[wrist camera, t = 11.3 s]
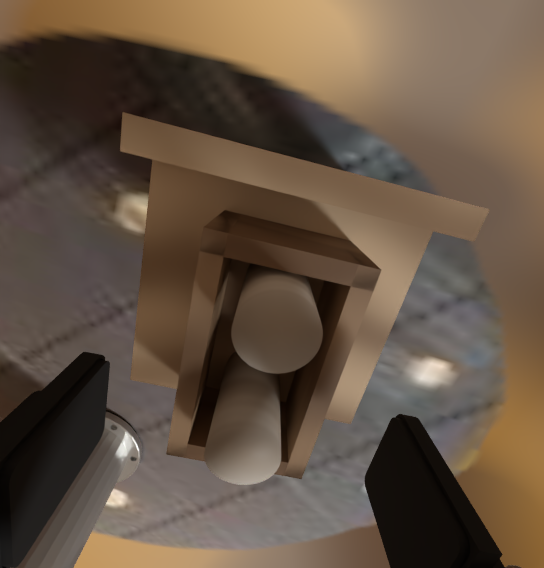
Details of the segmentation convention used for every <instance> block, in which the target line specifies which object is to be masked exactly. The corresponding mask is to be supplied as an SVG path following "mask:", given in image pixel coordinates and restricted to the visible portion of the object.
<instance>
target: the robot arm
mask: <svg viewBox="0 0 544 568" xmlns="http://www.w3.org/2000/svg"><path fill="white" fill-rule="evenodd" d="M109 368H110V363H109V362H108V361H105V357H104V356H103V355H99V354H94V353H89V352H83V353H82V354H80V355H79V356H78V357H77V358H76V359H75V360H74V361H73V362H72V363H71V364H70V365H69V366H68V367H66V368H65V369H64V370H63V371H62V372H61V373H60V374H59V375H58V376H57V377H56V378H55V379H54V380H53V381H52V382H51V383H50V384H48V385H47V386H46V387H45V388H44V389H43V390H42V391H36V392H34V393H33V394H31V395H30V396H29V397H28V398H26V399H25V400H24V401H23V402H22V403H21V404H20V405H19V406H18V407H17V408H16V409H14V410H13V411H12V412H11V413H10V414H9V415H8V416H7V417H6V418H5V419H4V420H2V421H1V422H0V568H73V567H74V565H75V563H76V561H77V559H78V557H79V556H80V553H81V552H82V550H83V547H84V545H85V544H86V542H87V540H88V538H89V536H90V534H91V532H92V530H93V528H94V526H95V524H96V522H97V520H98V518H99V516H100V514H101V512H102V510H103V508H104V506H105V504H106V502H107V500H108V498H109V496H110V494H111V492H112V490H113V488H114V486H115V484H116V483H119V482H121V481H123V480H125V479H127V478H128V477H130V476H131V475H132V474H133V473H134V472H135V470H136V469H137V467H138V465H139V463H140V460H141V457H142V445H141V441H140V439H139V437H138V435H137V434H136V432H135V431H134V430H133V428H132V427H131V426H130V425H128V424H127V423H126V422H125V421H124V420H122V419H121V418H119V417H117V416H115V415H113V414H111V413H109V412H106V404H107V392H108V380H109ZM365 487H366V490H367V493H368V497H369V500H370V503H371V506H372V510H373V513H374V516H375V519H376V522H377V526H378V529H379V532H380V535H381V538H382V542H383V545H384V548H385V551H386V555H387V558H388V561H389V564H390V567H391V568H521V567H518V566H513V565H508V566H507V567H504V565H503V564H502V562H501V560H500V557H501V556H502V553H501V552H500V550H499V548H498V547H497V545H496V543H495V542H494V540H493V539H492V537H491V536H490V534H489V532H488V530H487V529H486V528H485V526H484V524H483V522H482V521H481V519H480V517H479V516H478V514H477V513H476V511H475V509H474V508H473V506H472V505H471V503H470V501H469V500H468V498H467V496H466V495H465V493H464V492H463V490H462V488H461V487H460V485H459V484H458V482H457V480H456V479H455V477H454V475H453V474H452V472H451V471H450V469H449V467H448V466H447V464H446V462H445V461H444V459H443V458H442V456H441V454H440V453H439V451H438V449H437V448H436V446H435V445H434V443H433V441H432V440H431V438H430V437H429V435H428V433H427V432H426V430H425V428H424V427H423V425H422V424H421V422H420V420H419V419H418V418H416V417H413V416H407V415H402V414H398V415H397V416H396V418H392V419H391V421H390V423H389V425H388V427H387V429H386V431H385V434H384V436H383V438H382V440H381V442H380V444H379V447H378V449H377V451H376V453H375V455H374V457H373V459H372V462H371V464H370V466H369V468H368V470H367V472H366V475H365Z"/></svg>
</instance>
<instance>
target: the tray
mask: <svg viewBox="0 0 544 568" xmlns="http://www.w3.org/2000/svg"><path fill="white" fill-rule="evenodd" d="M380 273H381V269H380V268H379V267H378V266H377V265H376V264H375V263H374V262H373V261H372V260H371V259H369V258H368V257H367V256H366V255H365V254H364V253H363V252H362V251H361V250H360V249H359V248H358V247H357V246H356V245H355V244H354V243H352V242H351V241H350V240H346V239H342V238H338V237H334V236H329V235H325V234H321V233H317V232H313V231H309V230H305V229H301V228H297V227H293V226H289V225H284V224H280V223H276V222H272V221H268V220H264V219H260V218H256V217H252V216H248V215H244V214H239V213H235V212H231V211H227V210H224V211H223V212H222V213H220V214H219V215H218V216H217V217H215V218H214V219H213V220H212V221H210V222H209V223H208V224H207V225H206V226H204V227H203V232H202V238H201V244H200V251H199V257H198V263H197V269H196V275H195V281H194V287H193V293H192V300H191V306H190V312H189V318H188V324H187V330H186V336H185V343H184V349H183V355H182V361H181V367H180V373H179V379H178V386H177V392H176V398H175V404H174V410H173V416H172V422H171V429H170V435H169V441H168V447H167V453H166V454H167V455H173V456H178V457H184V458H189V459H195V460H200V461H205V462H206V465H207V467H208V468H209V469H210V471H211V472H212V473H213V474H214V475H216V476H217V477H218V478H220V479H222V480H224V481H226V482H229V483H233V484H239V485H249V484H255V483H259V482H262V481H264V480H266V479H268V478H269V477H271V476H272V475H273V474H277V475H282V476H288V477H293V478H299V479H302V476H303V473H304V471H305V468H306V466H307V463H308V460H309V458H310V455H311V453H312V450H313V447H314V445H315V442H316V440H317V437H318V434H319V432H320V429H321V427H322V424H323V421H324V419H325V416H326V414H327V411H328V408H329V406H330V403H331V401H332V398H333V395H334V393H335V390H336V388H337V385H338V382H339V380H340V377H341V374H342V372H343V369H344V367H345V364H346V361H347V359H348V356H349V354H350V351H351V348H352V346H353V343H354V341H355V338H356V335H357V333H358V330H359V328H360V325H361V322H362V320H363V317H364V315H365V312H366V309H367V307H368V304H369V302H370V299H371V296H372V294H373V291H374V289H375V286H376V283H377V281H378V278H379V275H380Z"/></svg>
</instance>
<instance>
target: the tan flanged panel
mask: <svg viewBox="0 0 544 568" xmlns="http://www.w3.org/2000/svg"><path fill="white" fill-rule="evenodd" d="M120 151H121V152H125V153H129V154H133V155H137V156H141V157H145V158H149V159H152V169H151V179H150V189H149V199H148V209H147V219H146V229H145V239H144V249H143V259H142V269H141V278H140V288H139V298H138V308H137V318H136V328H135V338H134V348H133V358H132V368H131V378H130V380H135V381H140V382H145V383H150V384H155V385H160V386H164V387H169V388H174V389H177V386H178V379H179V373H180V367H181V361H182V355H183V349H184V343H185V336H186V330H187V324H188V318H189V312H190V306H191V300H192V293H193V287H194V281H195V275H196V269H197V263H198V257H199V251H200V244H201V238H202V232H203V227H204V226H206V225H207V224H208V223H209V222H210V221H212V220H213V219H214V218H215V217H217V216H218V215H219V214H220V213H222V212H223V211H224V210H227V211H231V212H235V213H239V214H244V215H248V216H252V217H256V218H260V219H264V220H268V221H272V222H276V223H280V224H284V225H289V226H293V227H297V228H301V229H305V230H309V231H313V232H317V233H321V234H325V235H329V236H334V237H338V238H342V239H346V240H350V241H351V242H352V243H354V244H355V245H356V246H357V247H358V248H359V249H360V250H361V251H362V252H363V253H364V254H365V255H366V256H367V257H368V258H369V259H371V260H372V261H373V262H374V263H375V264H376V265H377V266H378V267H379V268H380V269H381V273H380V275H379V278H378V281H377V283H376V286H375V289H374V291H373V294H372V296H371V299H370V302H369V304H368V307H367V309H366V312H365V315H364V317H363V320H362V322H361V325H360V328H359V330H358V333H357V335H356V338H355V341H354V343H353V346H352V348H351V351H350V354H349V356H348V359H347V361H346V364H345V367H344V369H343V372H342V374H341V377H340V380H339V382H338V385H337V388H336V390H335V393H334V395H333V398H332V401H331V403H330V406H329V408H328V411H327V414H326V416H325V419H328V420H333V421H338V422H343V423H348V424H351V422H352V419H353V417H354V415H355V412H356V410H357V408H358V405H359V403H360V401H361V398H362V396H363V394H364V391H365V389H366V387H367V384H368V382H369V380H370V377H371V375H372V373H373V370H374V368H375V366H376V363H377V361H378V359H379V356H380V354H381V352H382V349H383V347H384V345H385V342H386V340H387V338H388V335H389V333H390V331H391V328H392V326H393V324H394V321H395V319H396V317H397V314H398V312H399V310H400V307H401V305H402V303H403V300H404V298H405V296H406V294H407V291H408V289H409V287H410V284H411V282H412V280H413V277H414V275H415V273H416V270H417V268H418V266H419V263H420V261H421V259H422V256H423V254H424V252H425V249H426V247H427V245H428V242H429V240H430V238H431V235H432V233H433V231H434V232H438V233H442V234H446V235H450V236H454V237H458V238H462V239H466V240H470V241H475V239H476V237H477V235H478V233H479V231H480V229H481V227H482V224H483V222H484V220H485V218H486V216H487V214H488V212H489V209H485V208H482V207H478V206H475V205H471V204H467V203H463V202H460V201H456V200H452V199H448V198H445V197H441V196H437V195H433V194H429V193H426V192H422V191H418V190H414V189H411V188H407V187H403V186H399V185H395V184H392V183H388V182H384V181H380V180H377V179H373V178H369V177H365V176H361V175H358V174H354V173H350V172H346V171H343V170H339V169H335V168H331V167H328V166H324V165H320V164H316V163H312V162H309V161H305V160H301V159H297V158H294V157H290V156H286V155H282V154H278V153H275V152H271V151H267V150H263V149H260V148H256V147H252V146H248V145H245V144H241V143H237V142H233V141H229V140H226V139H222V138H218V137H214V136H211V135H207V134H203V133H199V132H195V131H192V130H188V129H184V128H180V127H177V126H173V125H169V124H165V123H161V122H158V121H154V120H150V119H146V118H143V117H139V116H135V115H131V114H128V113H124V112H123V114H122V129H121V144H120Z"/></svg>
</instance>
